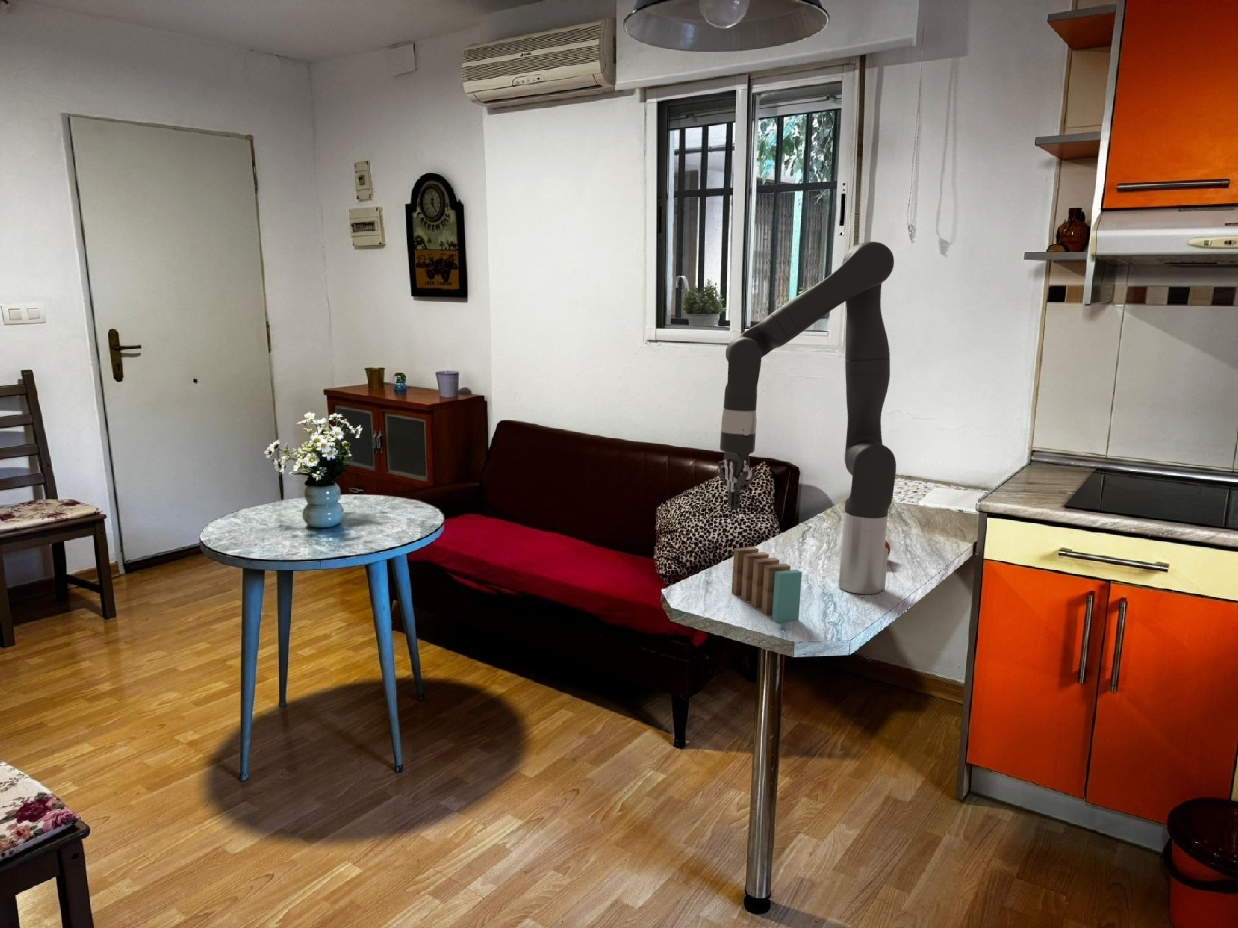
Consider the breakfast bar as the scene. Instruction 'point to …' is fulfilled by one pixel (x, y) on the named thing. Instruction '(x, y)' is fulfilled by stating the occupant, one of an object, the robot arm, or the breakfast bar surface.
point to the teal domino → (786, 596)
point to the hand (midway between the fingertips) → (733, 507)
